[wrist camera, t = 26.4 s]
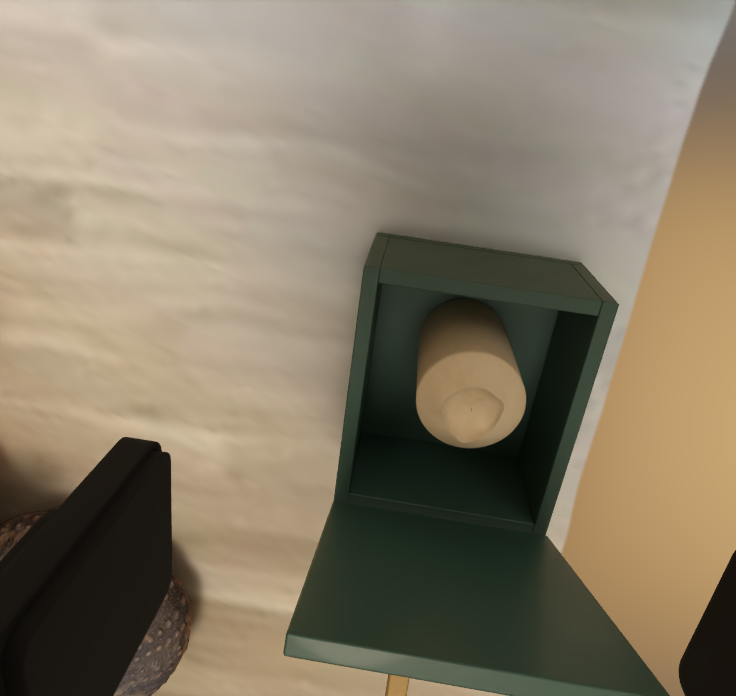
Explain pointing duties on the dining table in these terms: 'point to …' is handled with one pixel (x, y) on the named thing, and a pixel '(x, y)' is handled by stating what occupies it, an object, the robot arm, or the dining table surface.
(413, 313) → the chest
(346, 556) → the lid
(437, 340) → the candle
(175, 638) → the sea urchin shell
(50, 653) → the robot arm
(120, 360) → the dining table surface
